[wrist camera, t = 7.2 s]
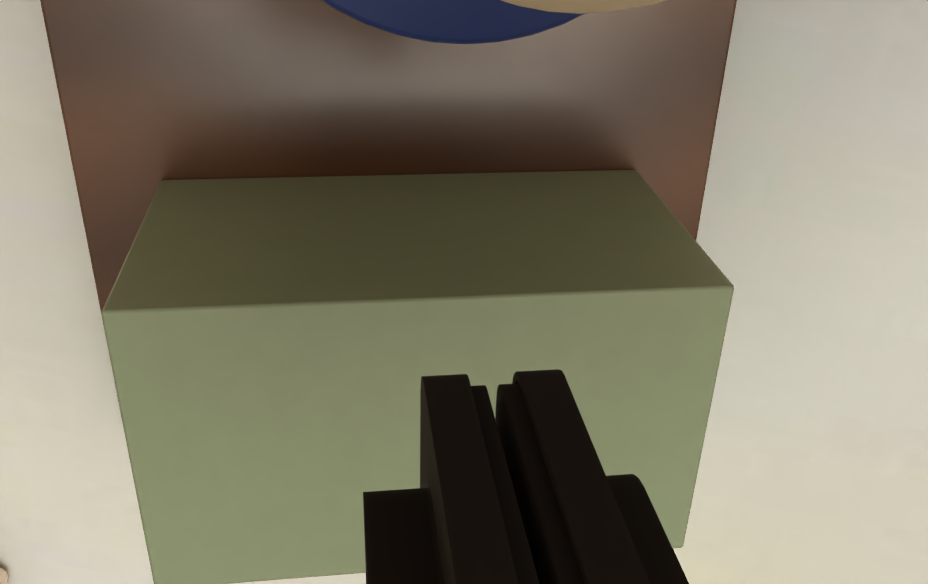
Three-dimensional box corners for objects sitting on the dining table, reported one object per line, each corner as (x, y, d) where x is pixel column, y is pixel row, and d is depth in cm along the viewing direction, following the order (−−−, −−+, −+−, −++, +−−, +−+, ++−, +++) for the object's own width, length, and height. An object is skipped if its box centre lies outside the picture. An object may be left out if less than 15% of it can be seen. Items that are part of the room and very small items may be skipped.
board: (-48, -553, 16) (-75, -579, 15) (794, -487, 18) (824, -505, 17) (136, 432, 26) (128, 458, 25) (653, 403, 28) (665, 426, 27)
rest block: (160, 178, 22) (99, 311, 16) (636, 168, 23) (736, 285, 17) (194, 412, 25) (153, 591, 19) (608, 389, 26) (683, 548, 21)
